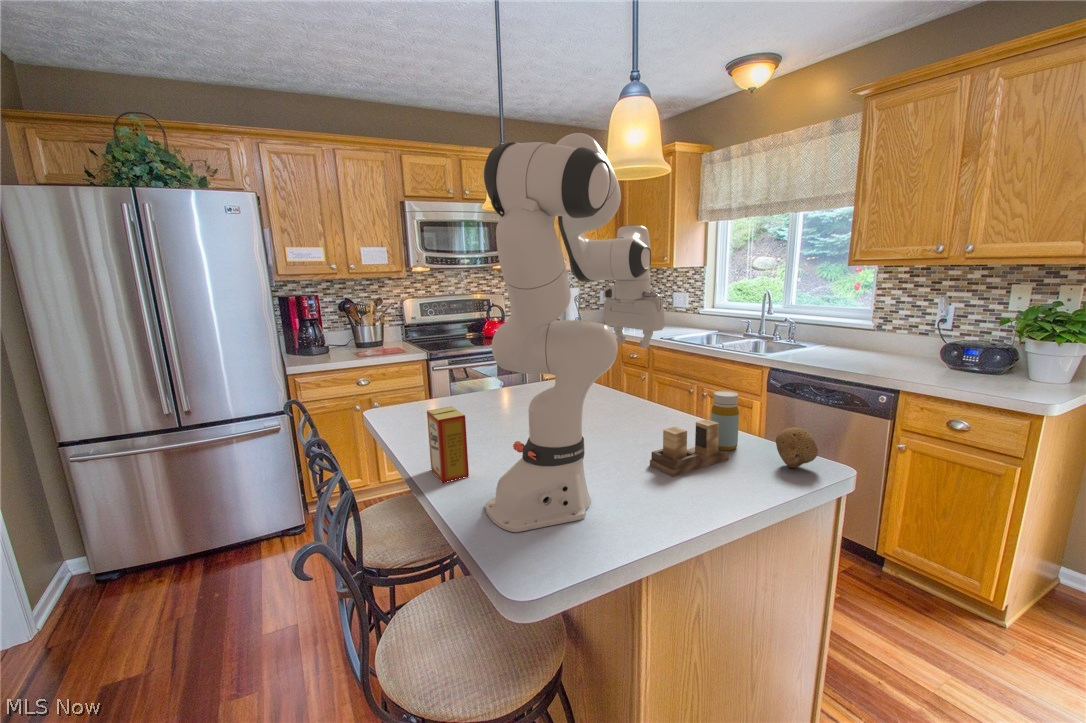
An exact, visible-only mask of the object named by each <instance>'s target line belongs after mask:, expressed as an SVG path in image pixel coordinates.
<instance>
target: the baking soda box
mask: <svg viewBox="0 0 1086 723" xmlns="http://www.w3.org/2000/svg"><path fill="white" fill-rule="evenodd" d="M426 415H427V417H426V418H427V430H428V432H427V433H428V443H429V456H430V457H429V458H430V469H432V470H431V472H432V473H433V474H434V473H435V474H436V475H437V476H438V477H437V476H436V475H435V474H434V475H435V476H436V477H437V478H438V479H439V480H441V481H442V482H443V483H442V482H441V481H440V482H441V483H442V484H445V483H444V482H447V481H451V480H455V479H459V478H463V477H468V476H469V477H470V474H469V471H470V470H469V455H468V442H467V426H466V424H467V423H466V415H465V414H464V413H462V412H461V411H459V410H458V409H457V408H455V407H454V406H447V407H443V408H442V407H441V408H435V409H428V410H426ZM469 477H468V478H469ZM463 479H464V478H463ZM459 480H460V479H459ZM455 481H456V480H455ZM451 482H452V481H451ZM447 483H448V482H447Z"/></svg>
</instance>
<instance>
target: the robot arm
mask: <svg viewBox="0 0 1086 723" xmlns="http://www.w3.org/2000/svg"><path fill="white" fill-rule="evenodd" d="M483 182H484V186H485V190H486V193H487V195H488V198H489V201H490V204H491V206H492V208H493V210H494V212H496V214H497V215H499V216H500V220H499V221H498V223H497V225H496V229H495V236H496V237H495V238H496V248H497V254H498V261H499V266H500V271H501V273H502V278H503V280H504V284H505V287H506V292H507V295H508V299H509V304H510V315H509V317H508V319H507V320H506V321H505V322H504V323H502V324H501V325H500V326H499V327H498V328H497V329H496V331H495V332H494V335H493V337H492V341H491V352H492V356H493V360H494V361H495V362H496V364H497V366H498V367H499V368H501V369H503V370H506V371H510V372H514V373H519V374H524V375H525V374H528V375H553V376H554V377H555V378H554V379H555V380H554V381H555V382H554V386H552V387H549V388H547V389H545V390H542V391H541V392H539V393H538V394H537V395H535V396H533V398H532V399H531V401H530V403H529V404H528V411H527V412H528V432H529V433H528V434H529V435H528V436H529V437H528V439H527V440H526V443H525V444H524V443H522V442H521V441H519V440H517V441H514V444H512V449H514V451H516V452H517V453H522V455H521V456H522V457H521V458H520V459H519V460H518V461H517V462H516V463H515V464H513V466H511V467H510V469H509V470H507V472H505V473H504V474H503V475H502V476H501V477H500V478H499V479H498V482H497V484H496V488H495V490H496V491H495V496H494V497H493V498H490V499H488V500H486V502H485V513H486V514H487V517H488V518H489V519H490V520H491V521H492V522H493V523H494V524H496V526H498V527H499V528H501V529H503V530H506V531H508V532H512V533H519V532H524V531H529V530H530V531H531V530H535V529H540V528H545V527H549V526H556V525H559V524H560V525H561V524H565V523H570V522H575V521H581V520H584V519H585V517H586V510H587V509H588V508H589V506H590V505H591V500H592V499H591V496H590V493H589V489H588V486H587V480H586V476H585V466H584V458H585V438H584V437H583V432H582V431H583V412H584V403H585V399H586V397H587V394H588V392H589V390H590V389H591V387H592V386H593V384H594V383H595V382H596V380H598V379H599V378H600V377H601V376H602V375H604V374H605V373H607V372H608V371H609V370H610V369H611V367H612V366H613V365H614V363H615V361H616V359H617V356H618V352H619V351H618V348H619V347H618V346H619V345H618V344H626V342H627V341H626V336H625V335H624V332H623V330H624V328H627V329H634V330H640V331H642V335H643V338H642V340H641V339H640V341H639V344H640V345H639V346H640V348H645V349H647V348H650V340H651V338H652V337H653V334H654V332H659V331H662V330H663V329H664V327H665V326H666V325H665V310H664V305H663V299H662V297H661V296H660V295H659V294H658V292H651V287H652V286H651V278H652V277H651V274H650V268H651V264H652V251H651V250H652V249H651V239H650V233H649V230H648V228H647V227H645V226H644V225H641V224H640V225H639V224H638V225H637V224H626V225H623V226H621V227H619V228H618V229H617V233H616V238H608V239H588V238H586V235H585V233H586V232H587V233H588V232H590V231H594V230H595V231H596V230H598V229H600V228H602V227H604V226H605V225H607V224H608V223H609V222H610V221H611V220H612V219H613V218H614V217H615V215H616V214H617V212H618V211H619V208H620V205H621V203H622V202H621V200H622V194H621V188H620V183H619V180H618V178H617V175H616V173H615V171H614V168H613V166H612V164H611V162H610V159H609V158H608V156H607V155H606V153H605V152H604V150H603V149H602V148H601V146H600V145H599V143H598V142H597V141H596V139H594V137H592V136H590V135H589V134H587V133H583V132H574V133H571V134H567V135H565V136H563V137H562V138H561V139H559V140H558V141H557V142H556V143H555V144H553V143H550V142H545V141H544V142H543V141H542V142H541V141H540V142H539V141H536V142H534V141H533V142H532V141H531V142H521V143H520V142H518V141H510V142H505V143H501V144H498V145H497V146H494V147H493V148H492V149H491V151H490V152H489V154H488V156H487V158H486V161H485V163H484V167H483ZM556 217H557V222H558V228H559V232H560V235H561V239H562V241H563V244H564V247H565V249H566V252H567V256H568V260H569V267H570V271H571V273H572V274H573V276H574V278H576V279H577V280H578V281H580V282H581V283H583V282H584V283H586V282H594V281H615V282H614V285H612V286H610V287H608V288H607V289H604V290H603V295H602V296H603V298H604V299H605V300H604V302H603V321H604V323H600V322H595V321H589V320H585V319H584V320H583V319H582V320H571V319H570V320H569V319H567V320H564V319H563V320H560V319H559V318H560V317H561V316H562V315H563V314H565V313H564V312H566V310H567V309H568V307H569V305H570V302H571V295H572V294H571V293H572V292H571V289H570V283H569V282H570V281H569V279H568V273H567V266H566V262H565V258H564V254H563V250H562V246H561V243H560V240H559V237H558V234H557V232H556V230H555V220H556ZM558 319H559V320H558ZM610 326H612V327H613V329H611V327H610ZM613 331H614V332H613Z"/></svg>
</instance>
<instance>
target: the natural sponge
mask: <svg viewBox="0 0 1086 723" xmlns="http://www.w3.org/2000/svg"><path fill="white" fill-rule="evenodd" d="M775 444H776V449H777V453H778V455H779V457H780V459H781V460H782V462H784V464H785V465H786V466H787V467H788V468H798V467H800V466H802V465H804V464H809V463H810V462H813V461H814V460H815V459H816V458H817V457H818V454H819V448H818V445H817V443H816V441H815V439H814V437H813V436H812V435H811V433H809V431H807V430H806V429H804V428H801V427H797V426H795V427H788V428H785V429H782V430H781V431H780V432H779V433H778V434H777V435H776V437H775Z"/></svg>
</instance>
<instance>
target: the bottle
mask: <svg viewBox="0 0 1086 723" xmlns="http://www.w3.org/2000/svg"><path fill="white" fill-rule="evenodd" d="M712 399H713V403H712V404H713V405H712V407H711V411H710V412H711V413H710V420H711V421H714V422H717V423H719V439H718V450H719V451H725V452H727V451H728V452H729V451H734V450H736V448H738V442H739V441H738V440H739V422H740V420H739V418H740V410H739V407H738V402H739V393H738V392H736V391H730V390H718V391H713V398H712Z"/></svg>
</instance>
